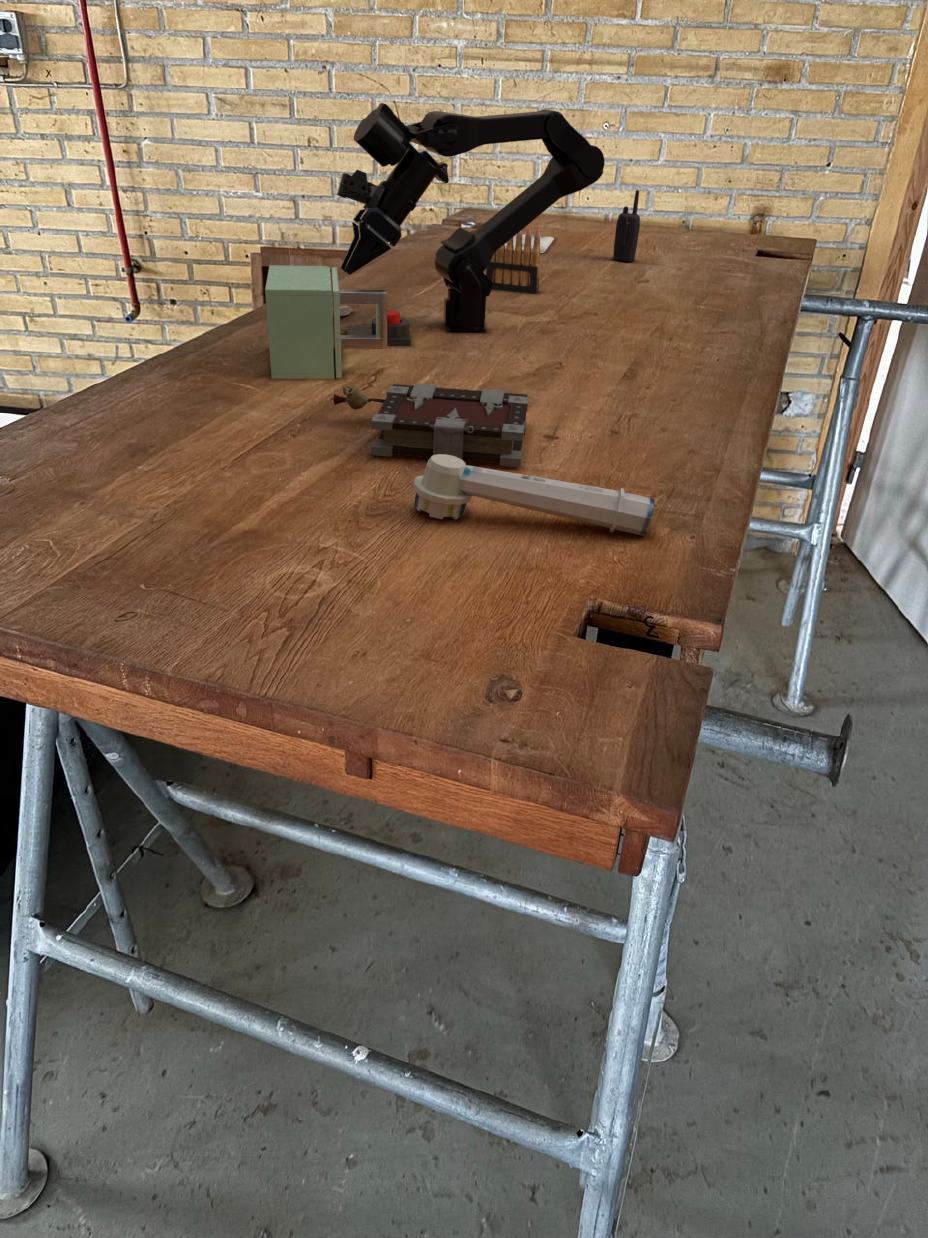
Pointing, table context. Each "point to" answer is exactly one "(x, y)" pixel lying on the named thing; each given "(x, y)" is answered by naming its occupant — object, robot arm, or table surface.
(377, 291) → the cabinet door
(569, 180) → the robot arm
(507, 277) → the ammunition clip
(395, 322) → the release button
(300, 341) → the cabinet
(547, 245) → the tile
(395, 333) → the button block
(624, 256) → the two-way radio
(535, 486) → the toothbrush head
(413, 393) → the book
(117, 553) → the table surface
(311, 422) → the table surface
